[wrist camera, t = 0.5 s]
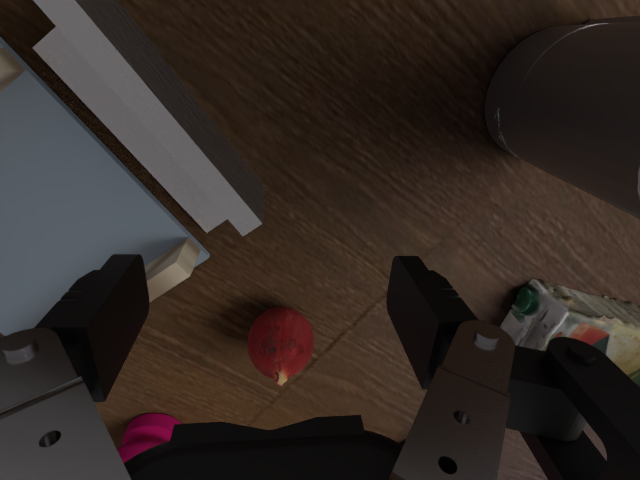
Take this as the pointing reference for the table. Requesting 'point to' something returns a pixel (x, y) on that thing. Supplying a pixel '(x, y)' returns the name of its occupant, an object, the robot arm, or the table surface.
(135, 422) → the pepper mill
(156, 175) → the bracket
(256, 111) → the table surface
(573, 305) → the juice carton
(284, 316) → the onion
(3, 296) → the board
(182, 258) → the walls
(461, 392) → the robot arm
